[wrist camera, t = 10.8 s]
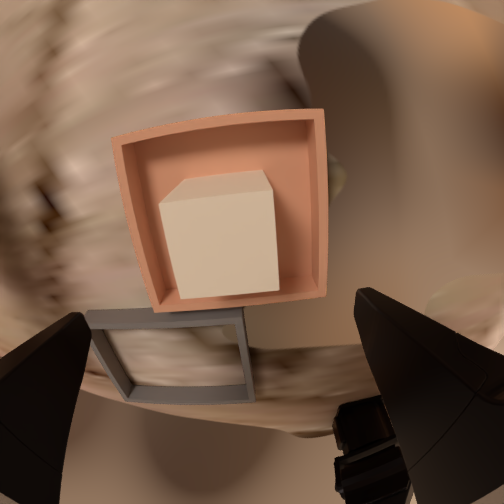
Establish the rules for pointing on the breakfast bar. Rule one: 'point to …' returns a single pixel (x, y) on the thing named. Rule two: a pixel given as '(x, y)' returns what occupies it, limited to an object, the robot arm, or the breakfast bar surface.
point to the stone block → (222, 235)
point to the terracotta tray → (221, 162)
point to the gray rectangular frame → (178, 319)
